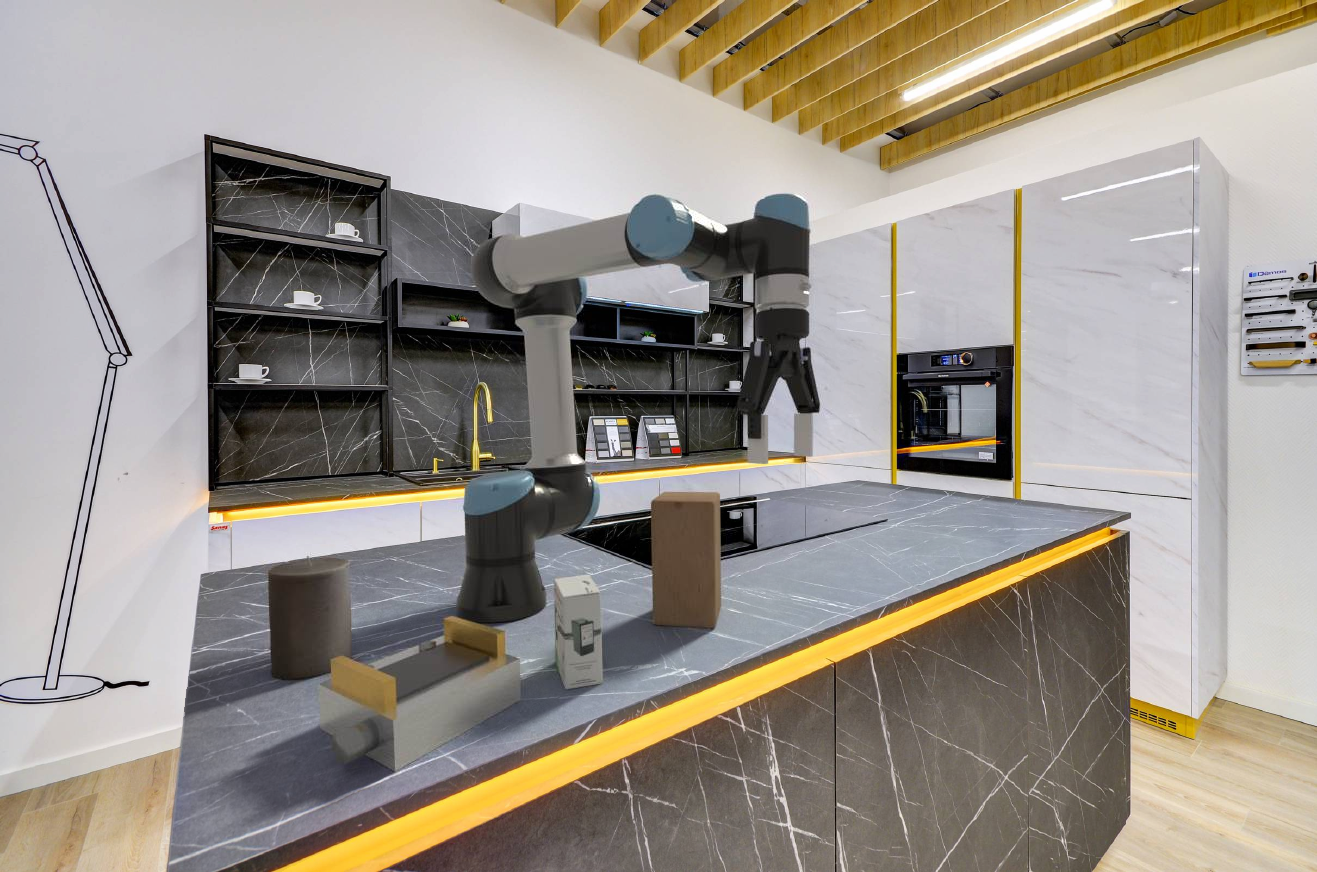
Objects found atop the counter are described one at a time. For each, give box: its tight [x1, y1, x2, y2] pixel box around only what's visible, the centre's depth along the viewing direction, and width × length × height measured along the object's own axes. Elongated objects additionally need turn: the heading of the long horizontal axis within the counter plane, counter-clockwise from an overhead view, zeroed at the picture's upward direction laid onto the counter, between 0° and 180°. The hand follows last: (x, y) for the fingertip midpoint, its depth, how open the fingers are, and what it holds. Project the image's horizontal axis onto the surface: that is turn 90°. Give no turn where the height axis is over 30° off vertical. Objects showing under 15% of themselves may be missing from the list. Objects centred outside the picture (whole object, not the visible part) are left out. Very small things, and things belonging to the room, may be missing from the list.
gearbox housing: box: [318, 615, 522, 772], centre depth 64 cm, size 14×19×8 cm
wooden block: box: [650, 491, 722, 629], centre depth 94 cm, size 10×10×20 cm
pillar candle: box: [267, 555, 353, 681], centre depth 79 cm, size 10×10×15 cm
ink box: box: [553, 574, 604, 690], centre depth 75 cm, size 9×5×12 cm, turn 19°
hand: (782, 459), depth 83 cm, fingers open, 13 cm apart
